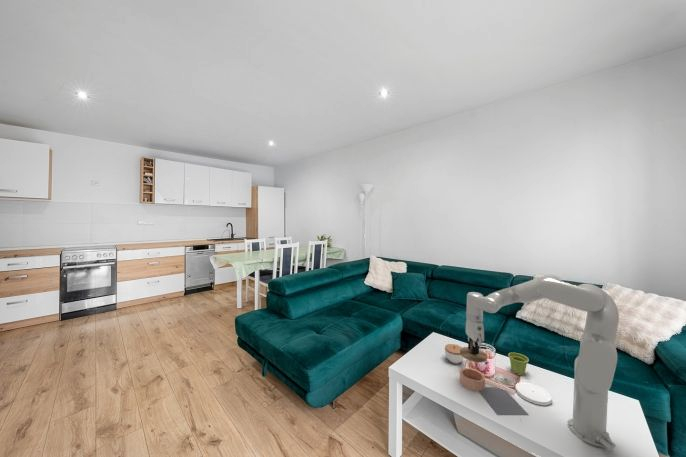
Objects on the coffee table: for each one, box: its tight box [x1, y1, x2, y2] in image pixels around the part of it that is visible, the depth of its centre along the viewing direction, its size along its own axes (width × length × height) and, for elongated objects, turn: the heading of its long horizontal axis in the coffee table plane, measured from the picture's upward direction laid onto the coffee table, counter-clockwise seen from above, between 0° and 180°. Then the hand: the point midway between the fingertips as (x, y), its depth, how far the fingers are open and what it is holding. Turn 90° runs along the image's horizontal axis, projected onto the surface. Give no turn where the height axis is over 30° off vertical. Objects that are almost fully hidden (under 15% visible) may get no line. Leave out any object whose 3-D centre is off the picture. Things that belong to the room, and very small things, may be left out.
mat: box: [478, 386, 530, 416], centre depth 117 cm, size 18×14×1 cm
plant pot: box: [507, 352, 530, 376], centre depth 139 cm, size 9×9×9 cm
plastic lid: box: [514, 381, 553, 406], centre depth 120 cm, size 14×14×2 cm
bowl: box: [459, 367, 486, 392], centre depth 129 cm, size 11×11×5 cm
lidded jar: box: [444, 343, 464, 365], centre depth 150 cm, size 11×11×9 cm
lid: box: [460, 340, 488, 363], centre depth 128 cm, size 12×12×7 cm
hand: (473, 351), depth 128 cm, fingers closed on lid, 3 cm apart
